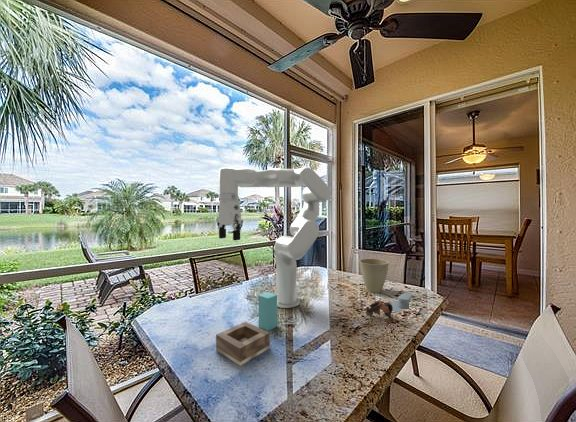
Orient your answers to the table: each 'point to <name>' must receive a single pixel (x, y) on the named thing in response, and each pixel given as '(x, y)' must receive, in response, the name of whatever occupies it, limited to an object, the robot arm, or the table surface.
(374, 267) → the plant pot
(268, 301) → the teal block
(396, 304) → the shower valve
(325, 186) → the robot arm
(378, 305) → the brown toy animal
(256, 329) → the walnut well
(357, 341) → the table surface
